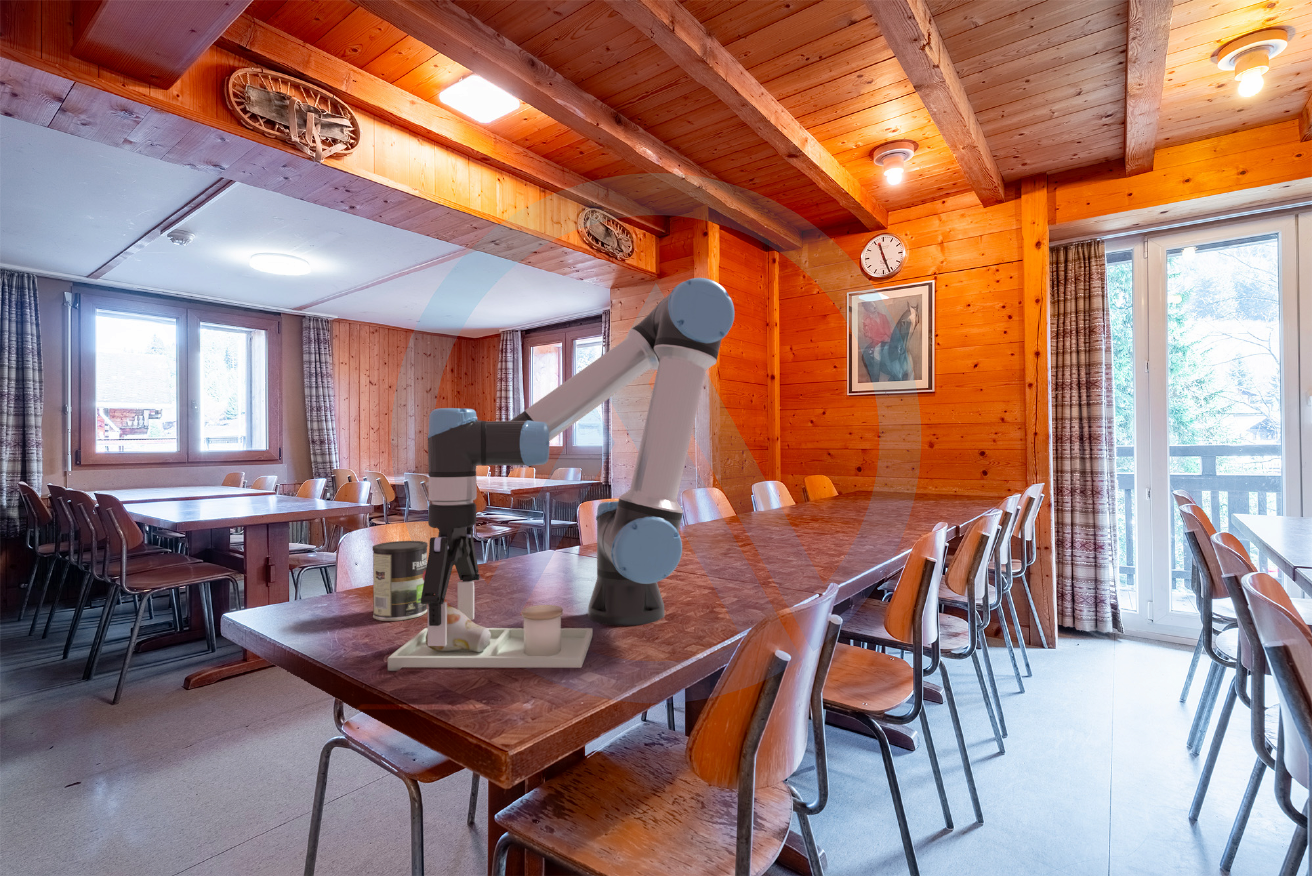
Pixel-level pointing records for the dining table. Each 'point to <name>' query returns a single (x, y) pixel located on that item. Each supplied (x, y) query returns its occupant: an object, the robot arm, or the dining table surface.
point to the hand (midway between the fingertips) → (452, 631)
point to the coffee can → (399, 580)
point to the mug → (463, 633)
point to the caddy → (495, 652)
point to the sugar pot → (542, 630)
